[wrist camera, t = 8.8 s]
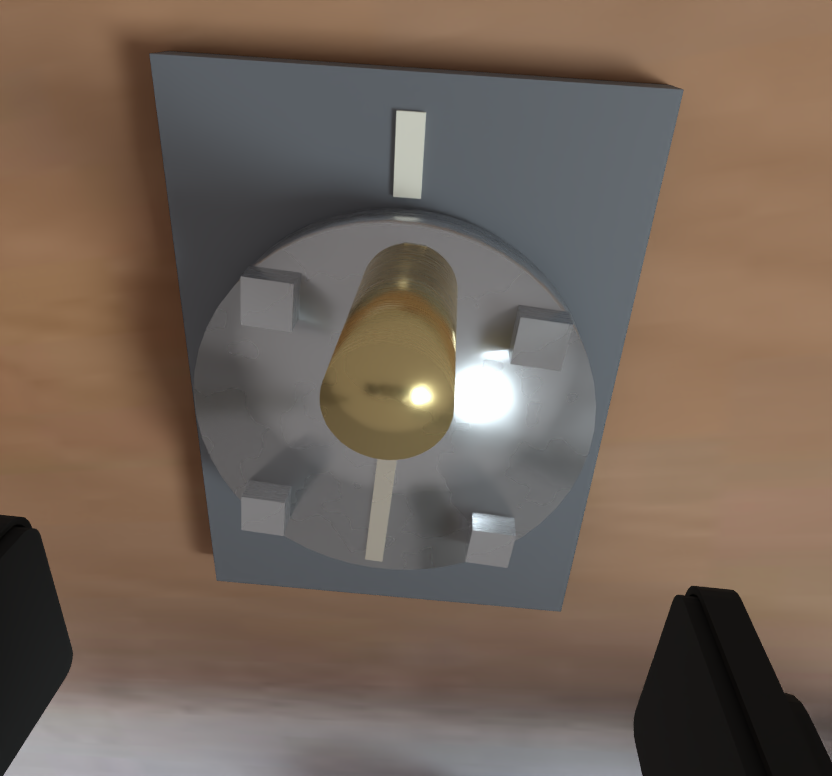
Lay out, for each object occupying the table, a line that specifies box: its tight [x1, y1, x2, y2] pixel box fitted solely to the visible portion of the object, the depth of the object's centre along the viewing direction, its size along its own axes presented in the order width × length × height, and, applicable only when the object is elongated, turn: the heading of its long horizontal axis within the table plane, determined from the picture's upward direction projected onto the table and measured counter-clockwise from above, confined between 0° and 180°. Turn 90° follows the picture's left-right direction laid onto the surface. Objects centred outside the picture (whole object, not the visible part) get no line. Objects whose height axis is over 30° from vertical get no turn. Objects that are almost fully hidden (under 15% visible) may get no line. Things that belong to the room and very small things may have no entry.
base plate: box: [150, 51, 683, 612], centre depth 26 cm, size 22×16×2 cm
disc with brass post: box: [194, 208, 596, 570], centre depth 21 cm, size 14×14×9 cm
